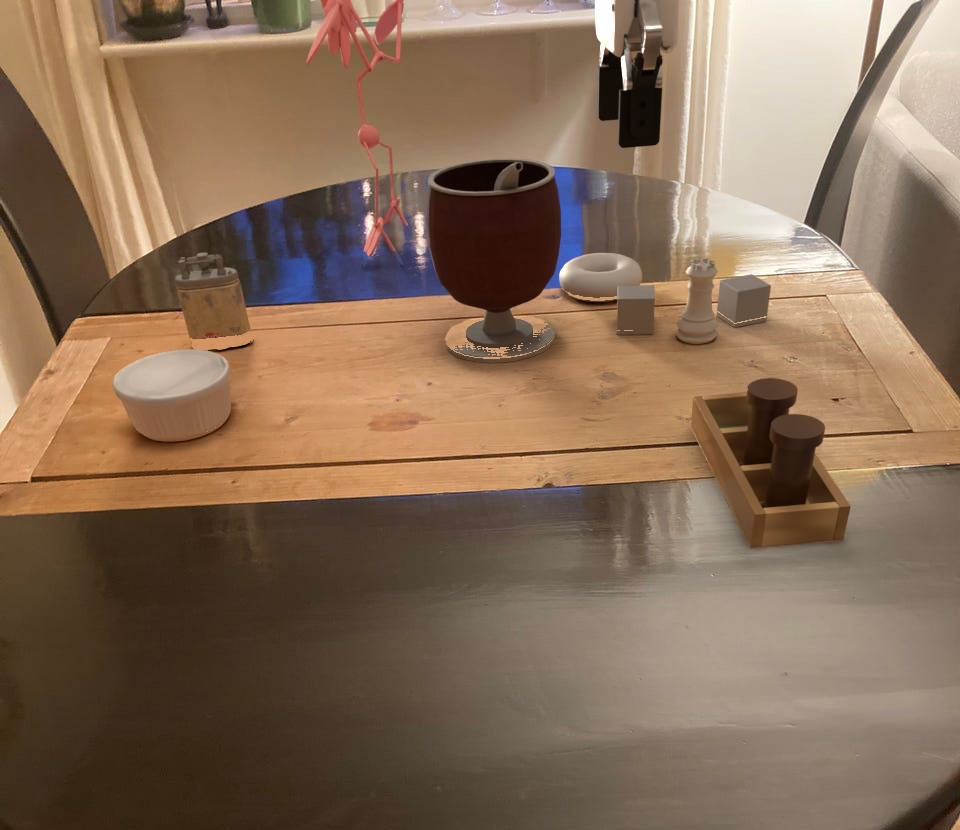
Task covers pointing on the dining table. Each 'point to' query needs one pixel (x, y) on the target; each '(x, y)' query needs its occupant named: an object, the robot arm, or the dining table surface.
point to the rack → (763, 481)
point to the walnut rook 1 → (765, 416)
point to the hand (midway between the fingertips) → (626, 131)
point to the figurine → (338, 27)
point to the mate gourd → (495, 247)
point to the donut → (599, 275)
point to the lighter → (211, 298)
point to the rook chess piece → (699, 305)
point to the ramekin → (176, 394)
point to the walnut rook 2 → (792, 458)
